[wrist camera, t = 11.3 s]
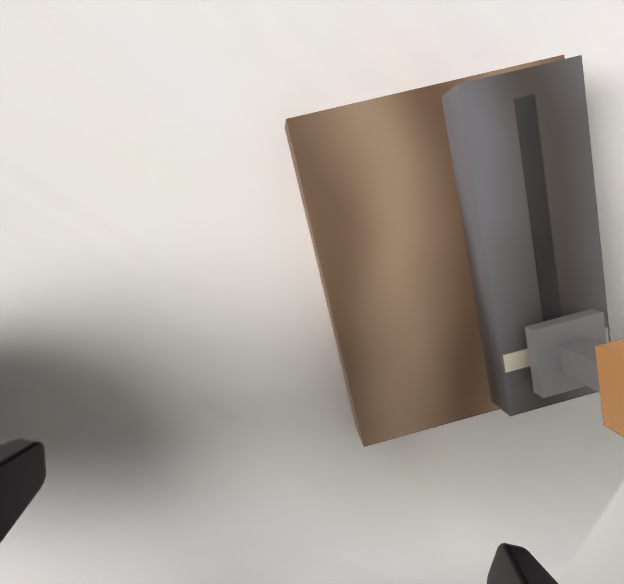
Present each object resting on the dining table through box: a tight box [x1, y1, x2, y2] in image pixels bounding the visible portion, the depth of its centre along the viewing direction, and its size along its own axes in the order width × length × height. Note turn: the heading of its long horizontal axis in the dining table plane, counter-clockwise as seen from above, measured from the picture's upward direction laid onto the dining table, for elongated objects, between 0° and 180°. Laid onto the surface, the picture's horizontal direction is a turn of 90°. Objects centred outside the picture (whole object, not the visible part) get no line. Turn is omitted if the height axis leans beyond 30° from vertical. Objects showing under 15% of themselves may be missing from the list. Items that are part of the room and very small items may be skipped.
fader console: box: [285, 55, 610, 447], centre depth 18 cm, size 12×15×3 cm
